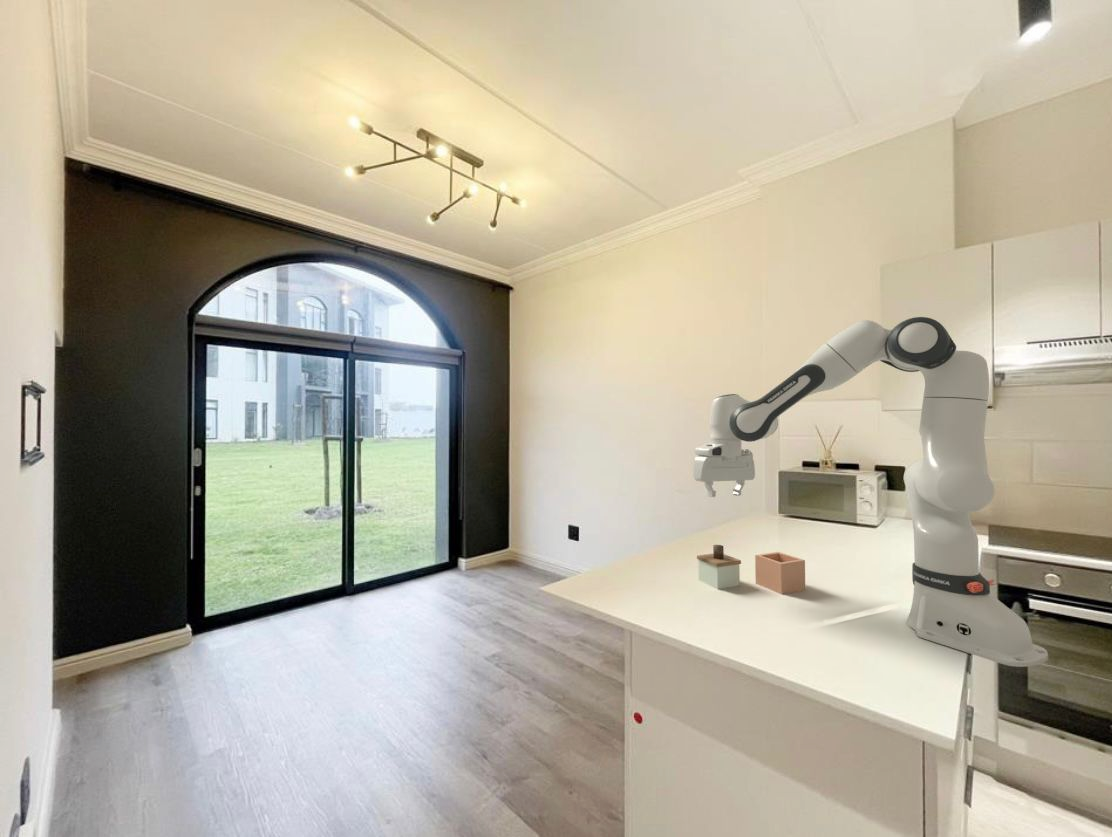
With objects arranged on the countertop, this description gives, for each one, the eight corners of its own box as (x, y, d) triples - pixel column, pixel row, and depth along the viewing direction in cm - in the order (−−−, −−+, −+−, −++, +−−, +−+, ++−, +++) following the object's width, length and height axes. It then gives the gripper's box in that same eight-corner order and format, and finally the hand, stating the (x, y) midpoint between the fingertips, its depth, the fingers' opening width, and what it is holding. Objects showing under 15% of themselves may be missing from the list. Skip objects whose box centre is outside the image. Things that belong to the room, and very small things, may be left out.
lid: (740, 563, 127) (740, 548, 127) (717, 567, 124) (717, 551, 124) (719, 555, 135) (719, 541, 135) (697, 559, 132) (696, 543, 132)
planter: (805, 592, 123) (804, 560, 124) (781, 597, 120) (781, 563, 120) (778, 581, 132) (778, 551, 132) (755, 586, 128) (755, 555, 129)
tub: (739, 588, 127) (739, 563, 127) (717, 591, 124) (717, 567, 124) (720, 579, 134) (719, 556, 135) (698, 582, 132) (698, 559, 132)
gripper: (744, 448, 137) (743, 492, 137) (690, 448, 130) (689, 495, 129) (760, 449, 131) (759, 496, 131) (704, 450, 124) (704, 499, 124)
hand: (724, 496), depth 130 cm, fingers open, 8 cm apart
